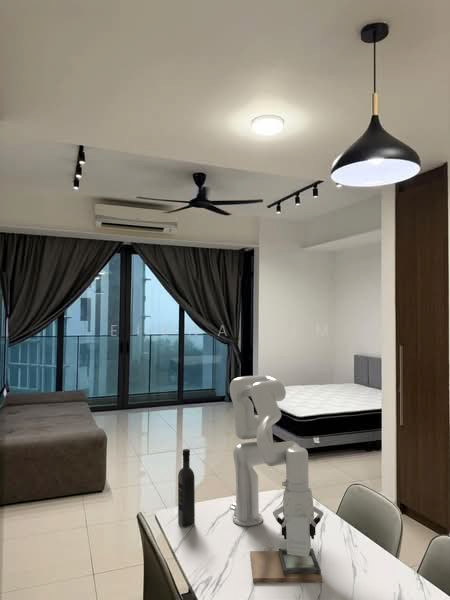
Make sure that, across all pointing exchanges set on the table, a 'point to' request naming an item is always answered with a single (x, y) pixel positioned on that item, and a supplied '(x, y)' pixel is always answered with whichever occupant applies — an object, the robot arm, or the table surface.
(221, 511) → the table surface
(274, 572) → the board
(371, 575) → the table surface
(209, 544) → the table surface
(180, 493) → the wine bottle
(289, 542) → the supplement box
